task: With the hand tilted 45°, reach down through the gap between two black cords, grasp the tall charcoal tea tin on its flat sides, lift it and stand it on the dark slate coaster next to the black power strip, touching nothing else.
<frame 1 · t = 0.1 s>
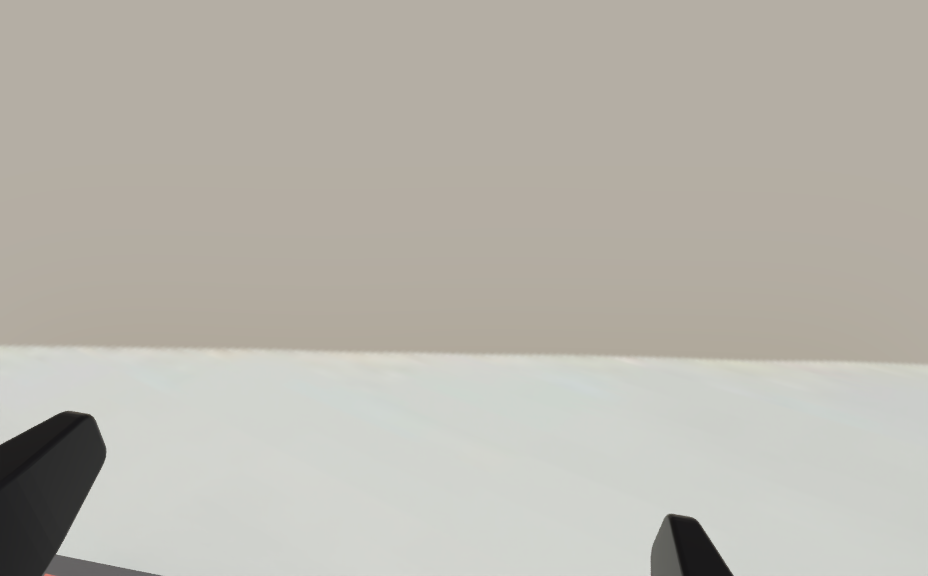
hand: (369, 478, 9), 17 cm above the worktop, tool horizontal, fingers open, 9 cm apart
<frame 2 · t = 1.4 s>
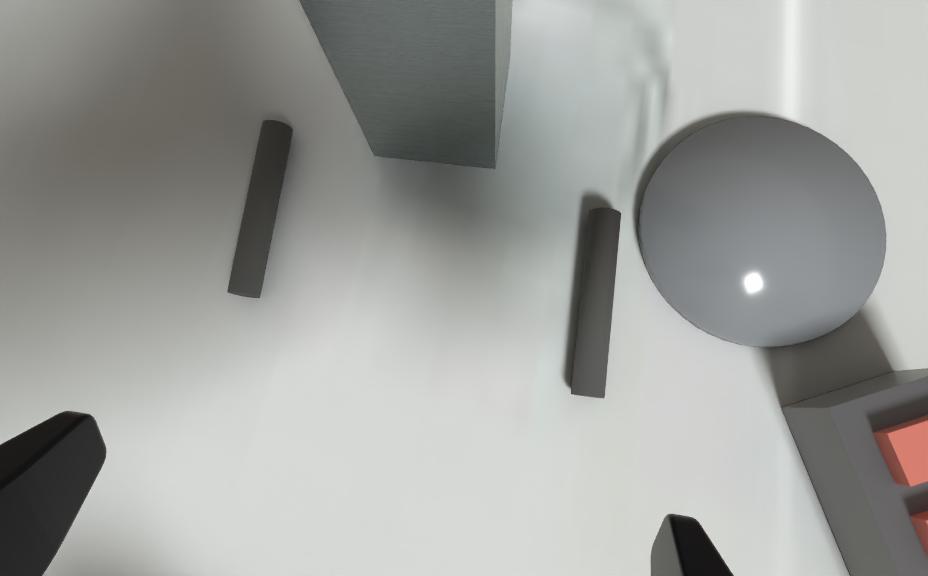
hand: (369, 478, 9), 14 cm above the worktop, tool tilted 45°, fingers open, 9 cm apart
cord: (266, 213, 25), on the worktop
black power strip: (891, 512, 21), on the worktop
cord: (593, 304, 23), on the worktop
charcoal tea tin: (442, 105, 25), on the worktop
slate coaster: (755, 231, 24), on the worktop
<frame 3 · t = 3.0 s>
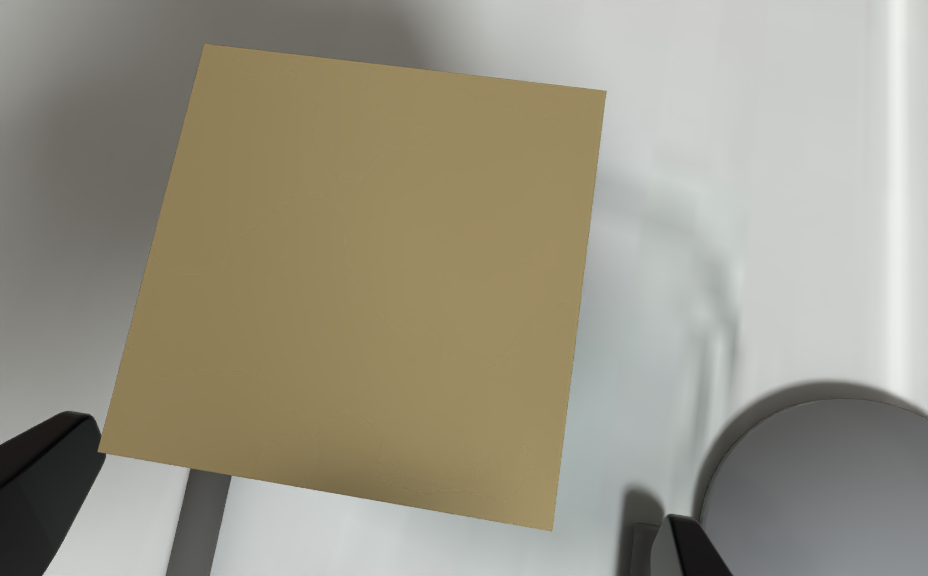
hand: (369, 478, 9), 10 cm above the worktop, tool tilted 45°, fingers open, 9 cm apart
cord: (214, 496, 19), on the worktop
charcoal tea tin: (445, 355, 20), on the worktop
slate coaster: (854, 554, 18), on the worktop
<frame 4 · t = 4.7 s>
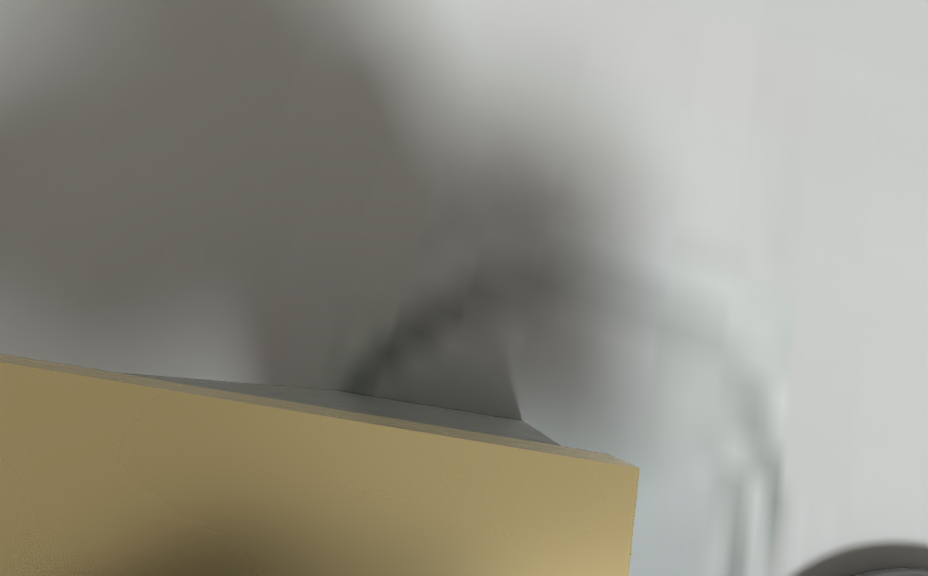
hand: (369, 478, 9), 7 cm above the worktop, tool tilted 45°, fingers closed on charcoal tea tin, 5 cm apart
charcoal tea tin: (411, 503, 16), on the worktop, touching gripper
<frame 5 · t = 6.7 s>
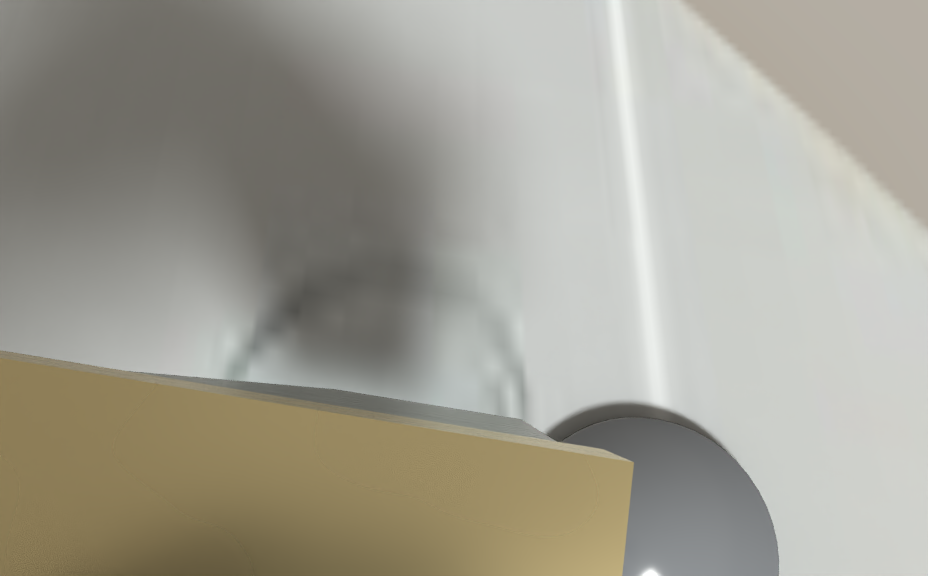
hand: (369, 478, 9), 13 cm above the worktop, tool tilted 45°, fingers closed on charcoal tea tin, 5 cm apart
charcoal tea tin: (411, 501, 16), point 7 cm above the worktop, touching gripper
slate coaster: (640, 547, 21), on the worktop
when the fingers open (8 cm above the worktop, at t = 9.1 s): charcoal tea tin stays where it is, resting on slate coaster.
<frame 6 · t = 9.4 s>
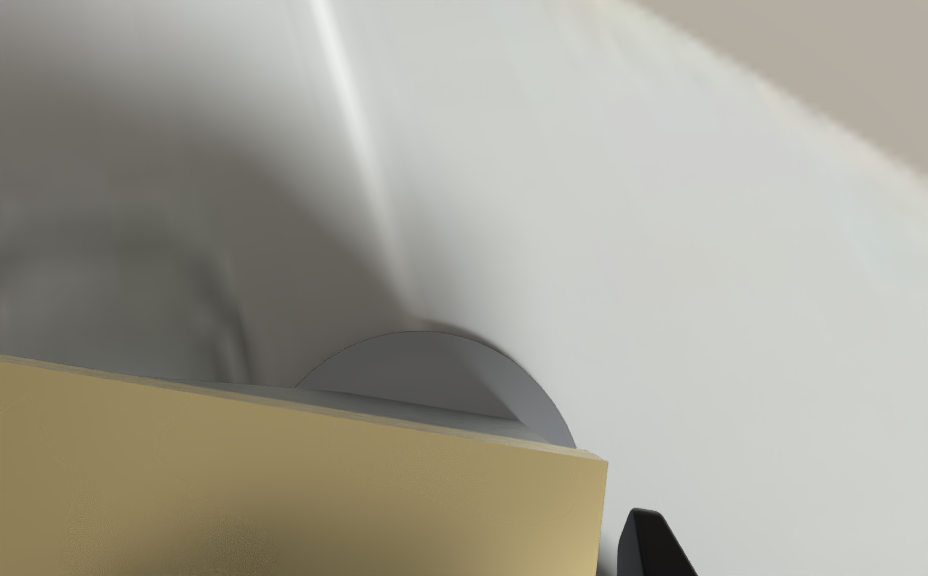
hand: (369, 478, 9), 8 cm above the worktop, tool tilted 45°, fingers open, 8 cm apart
charcoal tea tin: (413, 500, 16), point 1 cm above the worktop, touching slate coaster
slate coaster: (418, 496, 17), on the worktop
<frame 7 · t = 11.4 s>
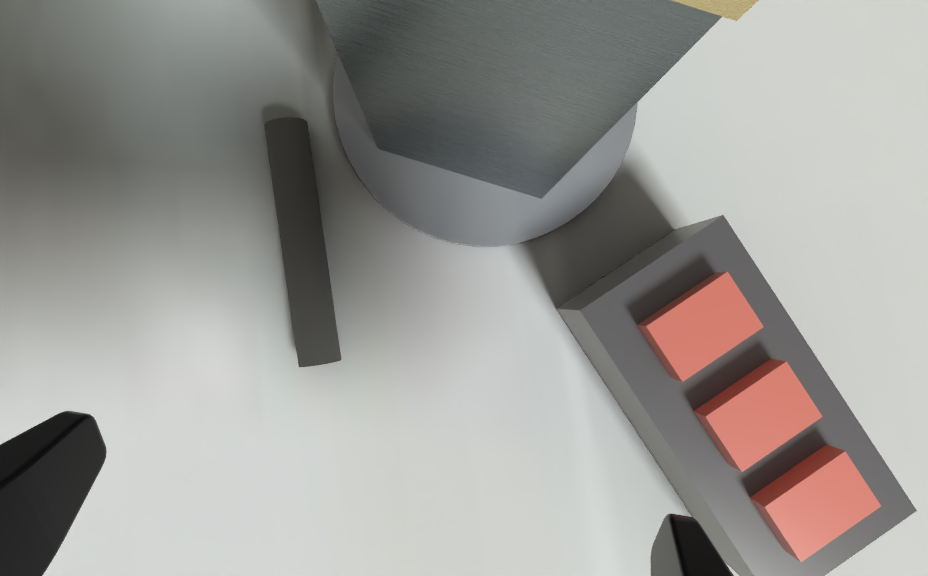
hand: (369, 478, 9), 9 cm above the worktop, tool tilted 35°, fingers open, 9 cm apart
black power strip: (696, 392, 19), on the worktop
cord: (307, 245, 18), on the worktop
charcoal tea tin: (484, 93, 18), point 1 cm above the worktop, touching slate coaster
slate coaster: (485, 99, 19), on the worktop
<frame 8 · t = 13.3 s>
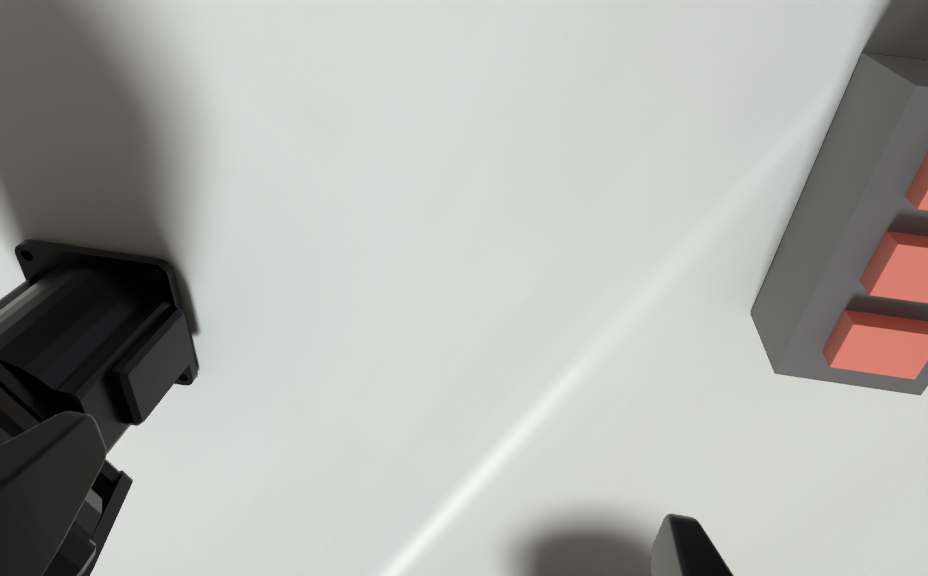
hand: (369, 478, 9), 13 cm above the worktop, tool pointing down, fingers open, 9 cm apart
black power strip: (871, 209, 19), on the worktop
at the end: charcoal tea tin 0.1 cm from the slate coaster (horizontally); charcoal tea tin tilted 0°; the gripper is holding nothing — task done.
